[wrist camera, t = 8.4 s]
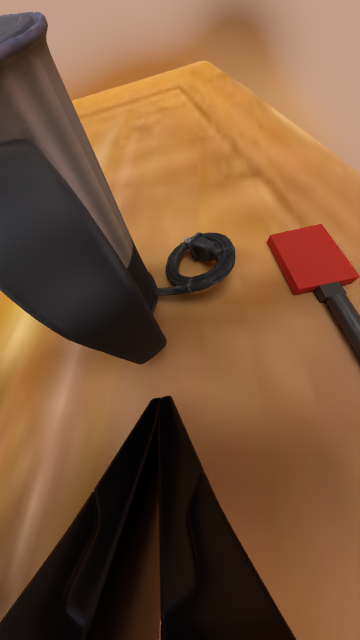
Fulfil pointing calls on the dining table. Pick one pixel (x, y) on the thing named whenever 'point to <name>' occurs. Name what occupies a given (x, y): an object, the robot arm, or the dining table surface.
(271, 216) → the dining table surface
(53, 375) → the dining table surface
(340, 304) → the spatula
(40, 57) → the milk frother
